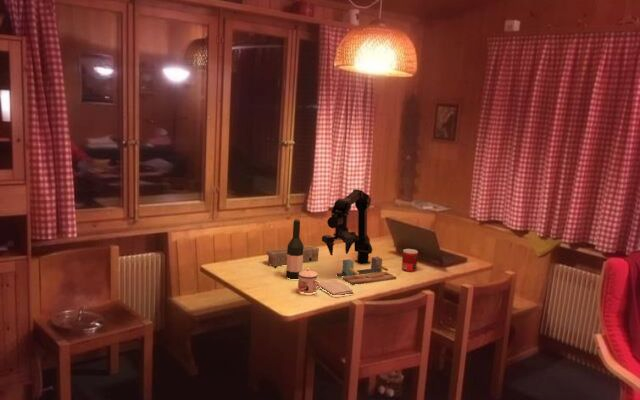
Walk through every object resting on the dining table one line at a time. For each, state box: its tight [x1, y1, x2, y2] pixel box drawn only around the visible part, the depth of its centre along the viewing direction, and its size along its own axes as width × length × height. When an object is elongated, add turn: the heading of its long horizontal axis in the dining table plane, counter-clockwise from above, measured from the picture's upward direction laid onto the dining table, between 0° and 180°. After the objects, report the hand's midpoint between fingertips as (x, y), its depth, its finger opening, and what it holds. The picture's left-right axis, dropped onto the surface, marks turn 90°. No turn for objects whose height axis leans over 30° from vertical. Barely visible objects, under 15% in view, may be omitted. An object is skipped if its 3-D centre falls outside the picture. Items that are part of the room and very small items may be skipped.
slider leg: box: [341, 258, 359, 277], centre depth 291 cm, size 12×4×8 cm, turn 29°
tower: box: [265, 244, 320, 268], centre depth 311 cm, size 8×8×29 cm
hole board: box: [342, 271, 397, 286], centre depth 291 cm, size 9×27×1 cm, turn 119°
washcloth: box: [317, 279, 354, 295], centre depth 272 cm, size 12×18×3 cm, turn 33°
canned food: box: [401, 248, 419, 273], centre depth 309 cm, size 8×8×11 cm
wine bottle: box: [285, 218, 305, 279], centre depth 284 cm, size 8×8×30 cm
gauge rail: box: [335, 256, 389, 278], centre depth 295 cm, size 12×27×8 cm, turn 119°
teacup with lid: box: [297, 267, 321, 293], centre depth 265 cm, size 12×9×12 cm
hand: (339, 254), depth 289 cm, fingers open, 9 cm apart
